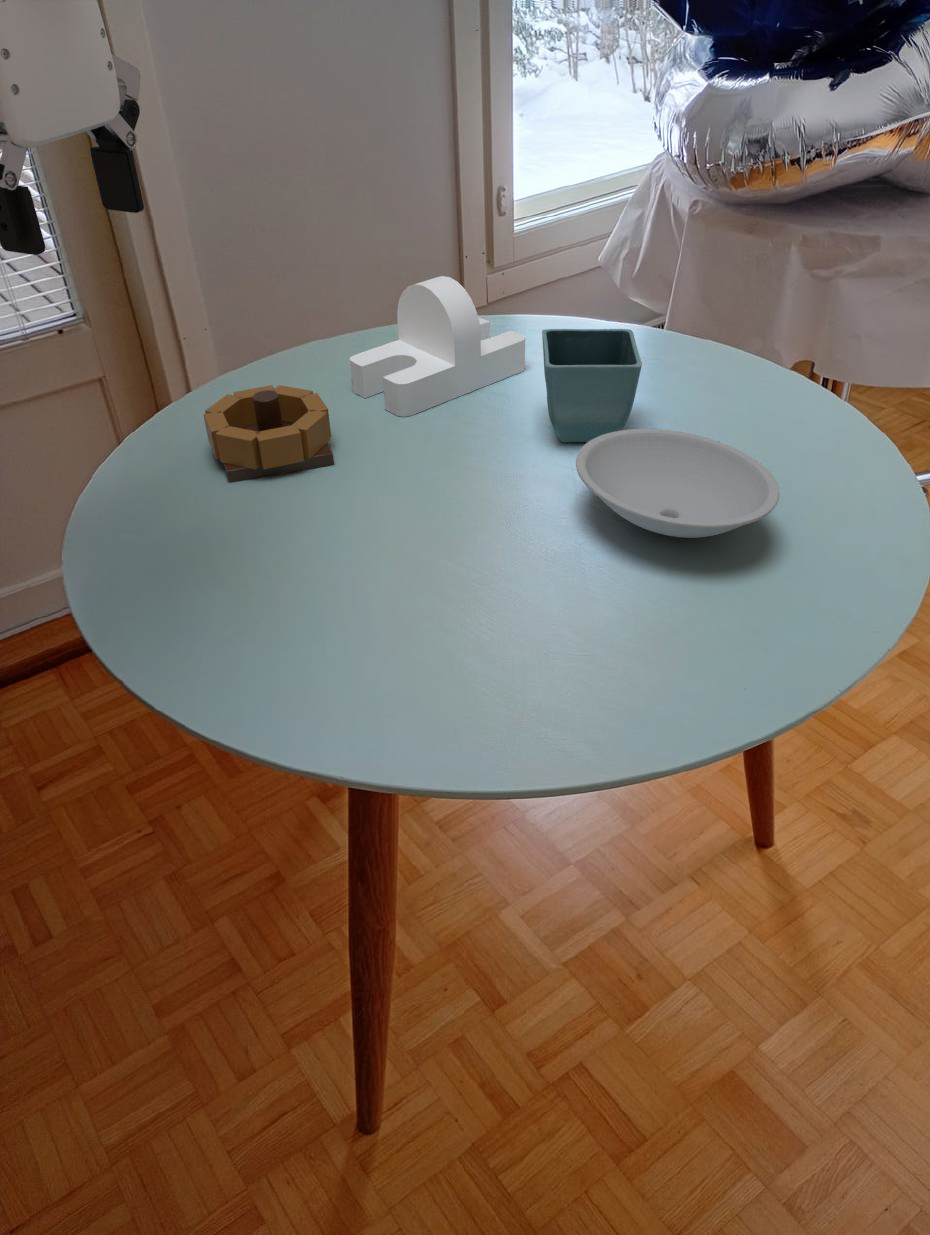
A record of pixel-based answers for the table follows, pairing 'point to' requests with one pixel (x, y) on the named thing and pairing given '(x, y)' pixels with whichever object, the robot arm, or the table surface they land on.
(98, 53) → the robot arm
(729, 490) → the dish
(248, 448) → the segmented block ring
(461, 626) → the table surface
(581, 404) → the flower pot
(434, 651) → the table surface
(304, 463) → the peg stand
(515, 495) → the table surface
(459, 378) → the white slotted bracket
